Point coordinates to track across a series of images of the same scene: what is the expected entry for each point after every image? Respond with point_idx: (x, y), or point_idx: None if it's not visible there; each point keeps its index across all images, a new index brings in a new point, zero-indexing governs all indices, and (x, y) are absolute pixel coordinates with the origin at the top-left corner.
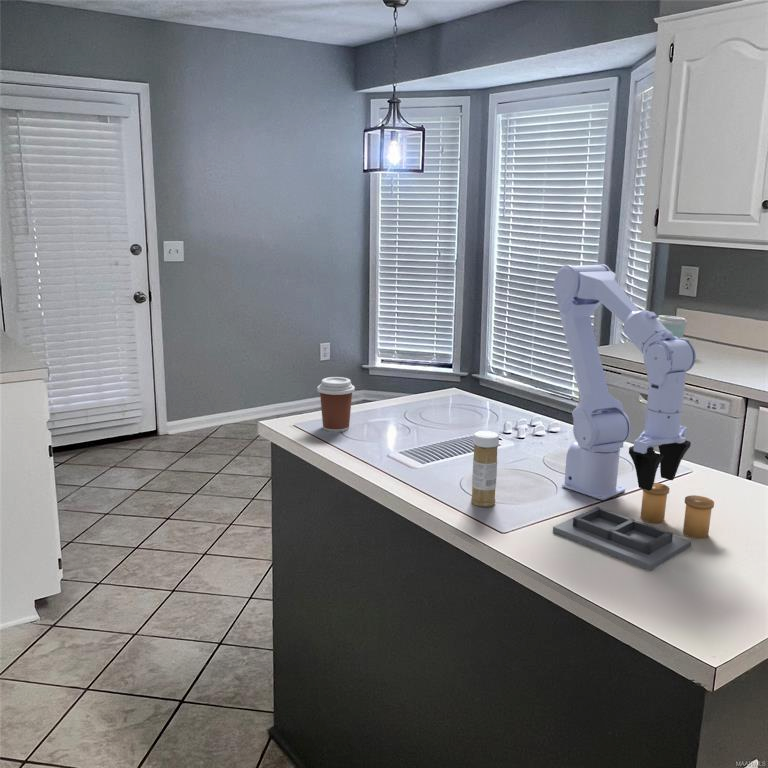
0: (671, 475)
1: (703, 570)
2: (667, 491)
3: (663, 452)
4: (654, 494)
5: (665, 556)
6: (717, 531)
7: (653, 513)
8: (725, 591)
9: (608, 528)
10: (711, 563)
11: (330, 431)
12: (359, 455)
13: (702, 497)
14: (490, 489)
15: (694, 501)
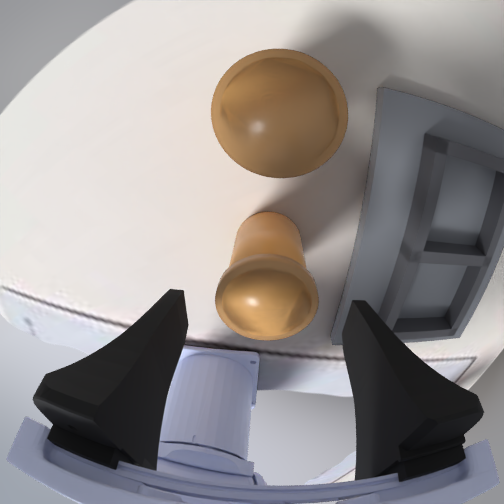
0: (178, 306)
1: (467, 42)
2: (273, 260)
3: (157, 412)
4: (314, 282)
5: (494, 125)
6: (206, 72)
7: (300, 243)
8: (498, 6)
9: (432, 278)
10: (426, 28)
11: None
12: (329, 481)
13: (228, 120)
14: None
15: (312, 125)
